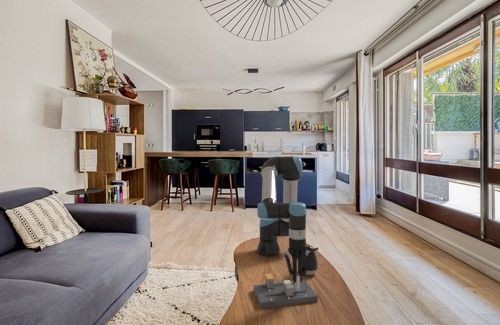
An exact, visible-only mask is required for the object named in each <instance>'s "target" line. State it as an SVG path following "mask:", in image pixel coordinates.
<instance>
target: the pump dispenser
mask: <svg viewBox="0 0 500 325" xmlns="http://www.w3.org/2000/svg"><path fill="white" fill-rule="evenodd" d="M306 249H307V251H310V252H311V253H312V254H311V256H310V258H309V262H308V266H307V271H306V273H305V274H304V275H306V276H313V275H315V274H316V273H317V271H318V268H319V264H318V263H319V261H318V258H317V255H316V251H318V250H319V247H315V248H314V247H312V246H311V245H309V244H308V245H307V244H306ZM304 257H305V254H304V256H303V261H304ZM303 261H302V266H303Z"/></svg>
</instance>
